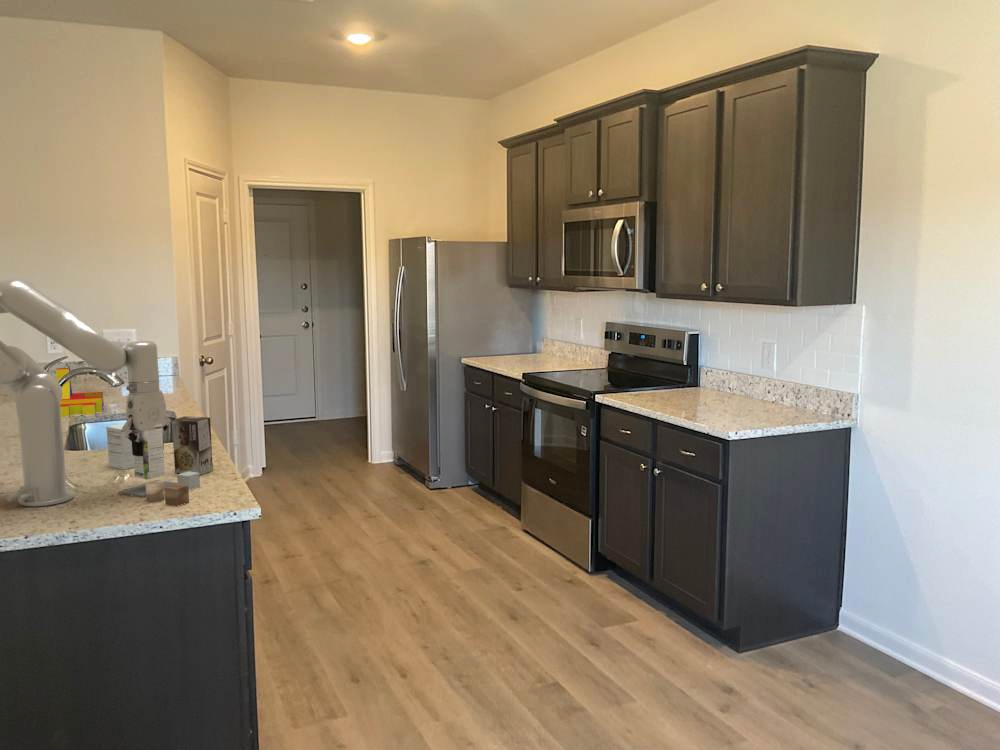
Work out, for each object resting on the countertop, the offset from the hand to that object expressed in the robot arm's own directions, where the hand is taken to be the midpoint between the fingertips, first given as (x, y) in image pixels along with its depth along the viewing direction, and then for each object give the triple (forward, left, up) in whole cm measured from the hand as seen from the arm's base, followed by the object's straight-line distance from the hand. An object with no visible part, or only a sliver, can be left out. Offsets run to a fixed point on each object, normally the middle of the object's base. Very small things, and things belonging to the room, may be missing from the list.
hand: (148, 452), depth 220 cm
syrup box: (0, 0, -7) cm, 7 cm away
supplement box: (+16, +28, -11) cm, 34 cm away
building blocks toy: (+75, +122, -11) cm, 143 cm away
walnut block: (-7, -16, -10) cm, 21 cm away
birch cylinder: (-7, -9, -10) cm, 15 cm away
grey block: (+6, -8, -11) cm, 14 cm away
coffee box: (+19, +4, -11) cm, 22 cm away
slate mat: (0, 0, -10) cm, 10 cm away
